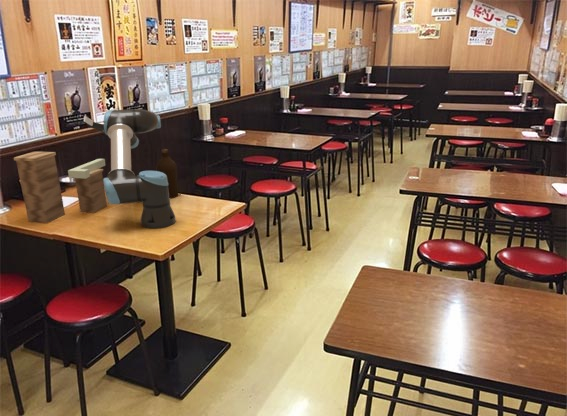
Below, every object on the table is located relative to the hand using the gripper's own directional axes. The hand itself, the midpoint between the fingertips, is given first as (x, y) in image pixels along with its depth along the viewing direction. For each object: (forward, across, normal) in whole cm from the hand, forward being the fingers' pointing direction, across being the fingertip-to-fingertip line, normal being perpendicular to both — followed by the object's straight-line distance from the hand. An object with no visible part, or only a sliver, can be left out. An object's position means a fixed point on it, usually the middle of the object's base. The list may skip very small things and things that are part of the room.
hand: (96, 118), depth 228 cm
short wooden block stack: (-7, -2, -44) cm, 45 cm away
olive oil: (-30, -30, -31) cm, 52 cm away
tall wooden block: (+7, +12, -52) cm, 54 cm away
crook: (+3, -5, -28) cm, 28 cm away
